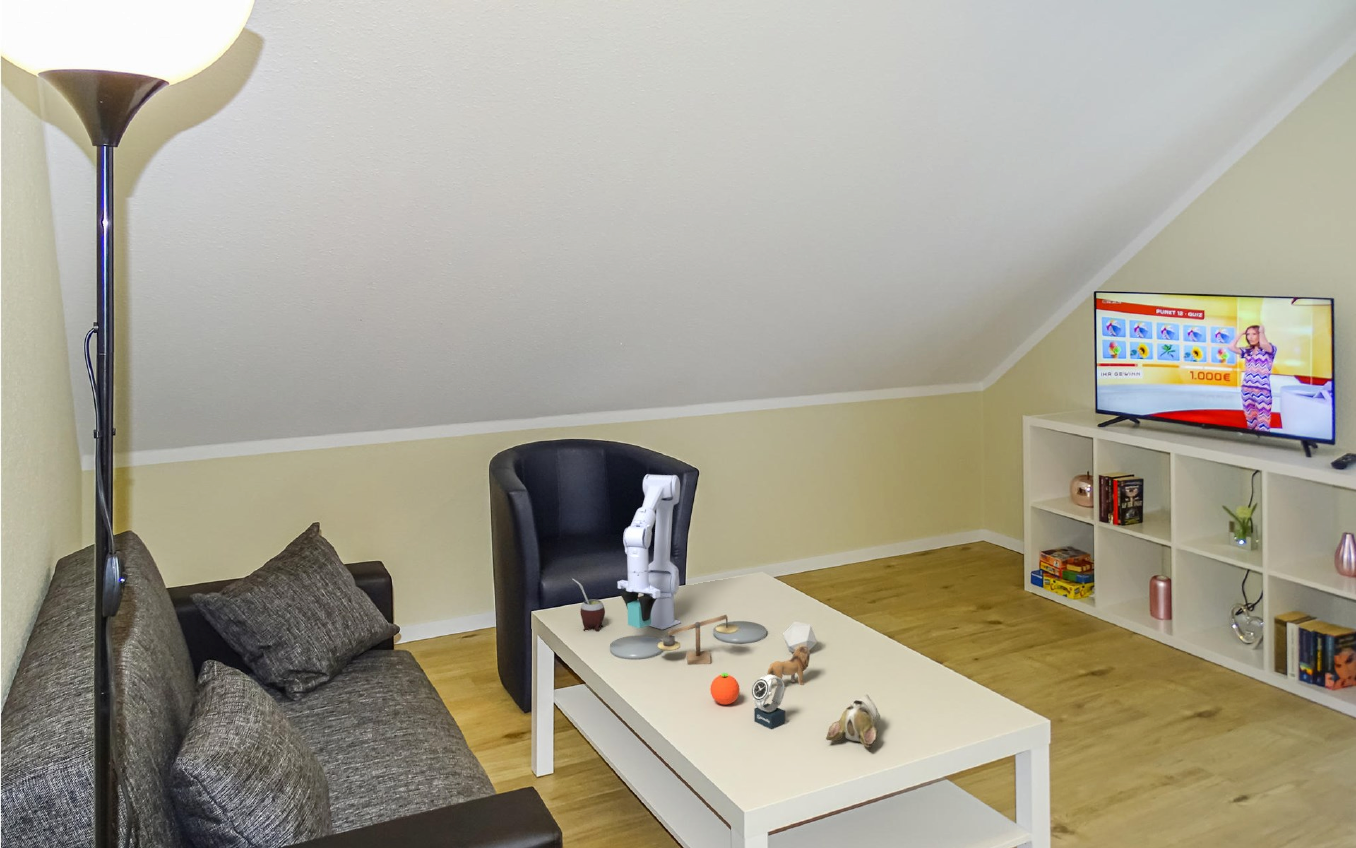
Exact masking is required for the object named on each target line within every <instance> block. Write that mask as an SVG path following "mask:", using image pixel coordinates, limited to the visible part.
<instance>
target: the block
mask: <svg viewBox="0 0 1356 848" xmlns="http://www.w3.org/2000/svg"><path fill="white" fill-rule="evenodd" d="M626 609H628V610H627V625H628V626H630V627H634V628H637V629H642V628H644V627H647V626H648V625H650V624H651V614H650V619H649V620H647V621H643V620H642V614H641V606H640V603H639V600H636V601H633V602H631V603H628V604H627V607H626Z"/></svg>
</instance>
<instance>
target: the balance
mask: <svg viewBox="0 0 1356 848" xmlns="http://www.w3.org/2000/svg"><path fill="white" fill-rule="evenodd" d="M724 620H725V623H726V624H722V623H719V624H720V625H719V624H717V625H716V626H715V627H716V631H717V632H719V633H723V634H731V633H735V632H737V631H738V626H736V625H734V624H728V622H729V621H728V616H727V614H724V615H720V616H717V617H713V618H710V619H707V620H703V621H696V622H695V623H692V624H689V625H685V626H682V627H679V628H676V629H672V630H668V632H667V634H666V635H664V636H663V637H662V639H663V640H662V642H660V643H658V648H659V649H660V650H664V651H663V652H665V651H666V652H668V651H669V652H671V651H676V650H679V649H680V648H681V643H680V642H679V641H677V640H676V638H675V634H679V633H683V632H686V631H690V630H692V629H695V650H694V651H686V661H687V665H709V664H711V656H710V650H701V627H704V626H708V625H710V624H714V623H716V622H721V621H724Z"/></svg>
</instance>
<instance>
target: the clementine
mask: <svg viewBox="0 0 1356 848" xmlns="http://www.w3.org/2000/svg"><path fill="white" fill-rule="evenodd" d="M709 690H710V695H711V697H712V699H714V701H715V702H717V704H719V705H720V704H721V705H730V704H732V703H734V702H735V701H736V700H737V698H738V697H739V695H740V684H739V682H738V681H737V679H736V678H735V677H733V676H732V675H730V674H728V672H723V673H721V674H720V675H718V676H716V677H715V678H714V679H712V682H711V684H710V688H709Z"/></svg>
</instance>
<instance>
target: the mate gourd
mask: <svg viewBox="0 0 1356 848" xmlns="http://www.w3.org/2000/svg"><path fill="white" fill-rule="evenodd" d="M571 579H572V581H574V582H575V583H577V584H578V586H579V588H580V589H581V592H582V594H583V596H584V599H585V600H584V601H583V602H582V604H581V606H580V617H581V620H582V625H583V629H582V630H583V632H586V631H585V630H588V631H592V630H593V631H595V632H596V633H597V632H600V628H603V627H604V625H603V620H604V619H605V614H606V609H605V606H604V603H603V602H602V601H601V600H599V599H592V598H591V599H588V597H587V595H586V593H585V590H584V586H583V585H582V584H581V583H580V582H579V581H578V580H576V579H575V578H571Z"/></svg>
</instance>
